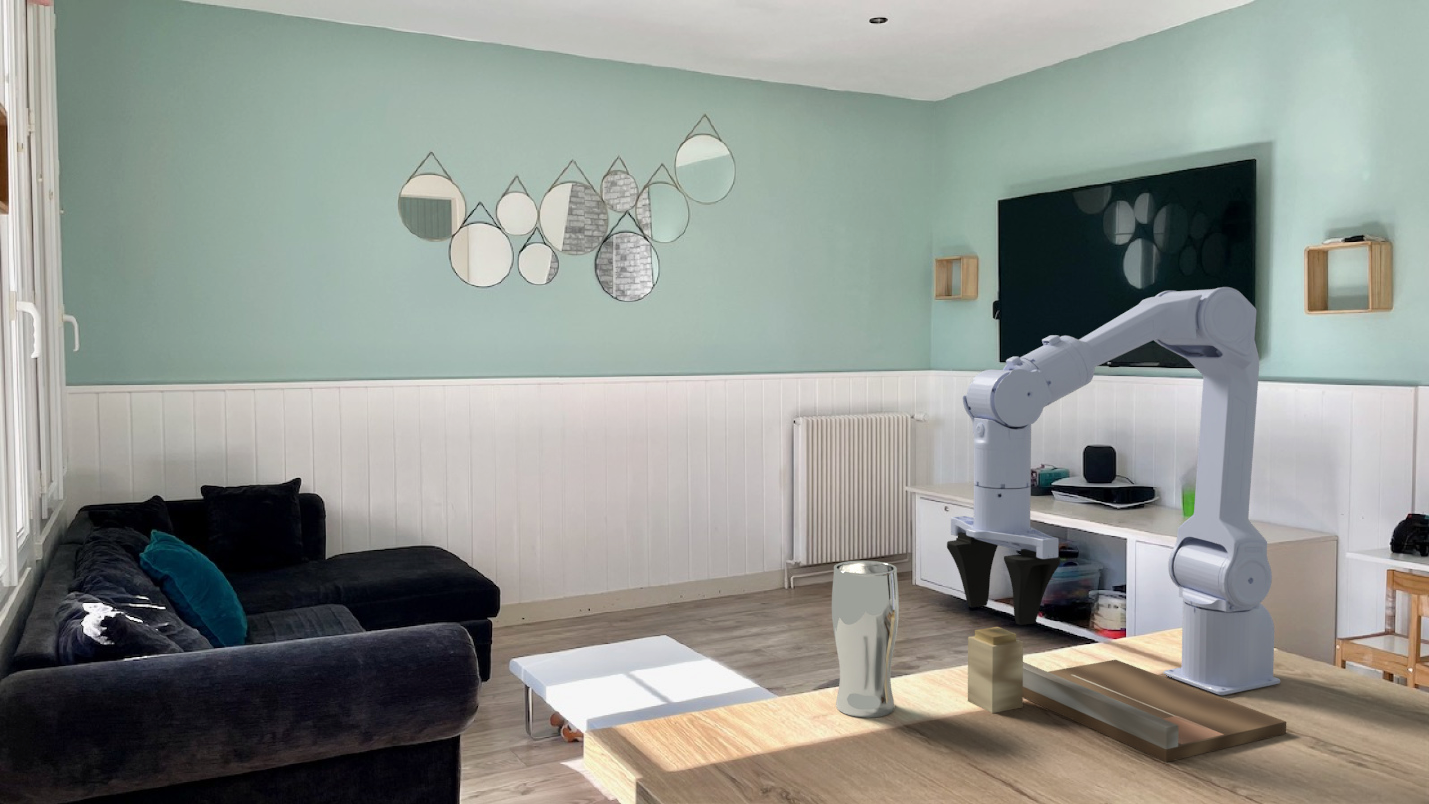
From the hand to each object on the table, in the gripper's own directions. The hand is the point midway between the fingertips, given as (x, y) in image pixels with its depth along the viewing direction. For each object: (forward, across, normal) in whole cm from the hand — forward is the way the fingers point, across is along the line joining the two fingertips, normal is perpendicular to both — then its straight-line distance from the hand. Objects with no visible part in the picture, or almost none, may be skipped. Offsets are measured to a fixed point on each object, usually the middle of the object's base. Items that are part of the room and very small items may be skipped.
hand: (1000, 614), depth 111 cm
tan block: (+10, -1, 0) cm, 10 cm away
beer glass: (+10, -6, -13) cm, 17 cm away
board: (+10, +7, +12) cm, 17 cm away
